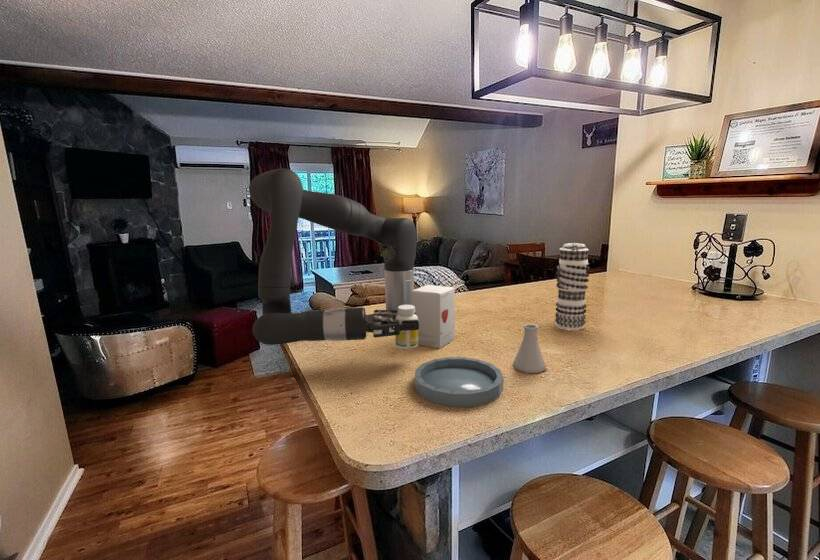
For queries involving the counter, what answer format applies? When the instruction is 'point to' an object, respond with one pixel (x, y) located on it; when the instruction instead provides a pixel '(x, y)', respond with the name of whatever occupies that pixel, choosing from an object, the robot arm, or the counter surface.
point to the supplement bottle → (407, 337)
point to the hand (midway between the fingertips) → (417, 320)
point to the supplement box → (435, 314)
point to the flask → (529, 352)
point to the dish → (458, 381)
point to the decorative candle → (572, 286)
